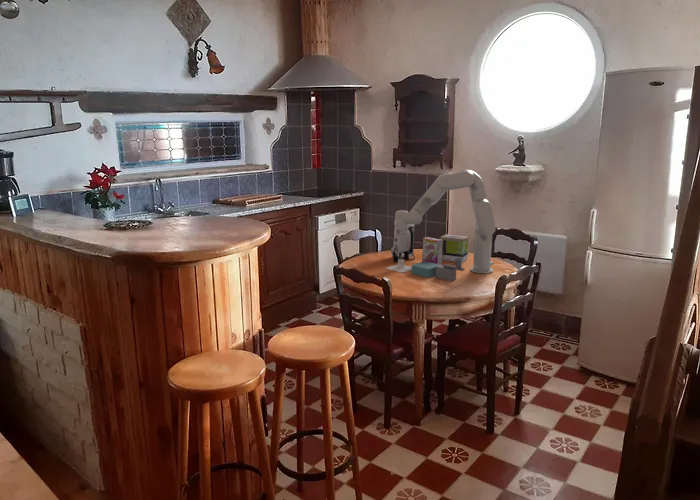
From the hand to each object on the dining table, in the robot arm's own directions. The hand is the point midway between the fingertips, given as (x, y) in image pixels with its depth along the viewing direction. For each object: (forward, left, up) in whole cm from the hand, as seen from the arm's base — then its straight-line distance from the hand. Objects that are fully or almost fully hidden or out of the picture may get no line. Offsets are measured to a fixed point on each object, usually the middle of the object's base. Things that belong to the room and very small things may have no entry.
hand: (400, 260), depth 317 cm
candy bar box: (-18, +9, -5) cm, 21 cm away
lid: (0, 0, -5) cm, 5 cm away
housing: (-2, +23, -5) cm, 24 cm away
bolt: (-2, +35, +2) cm, 35 cm away
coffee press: (-20, -13, -5) cm, 24 cm away
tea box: (-39, +10, -5) cm, 41 cm away
